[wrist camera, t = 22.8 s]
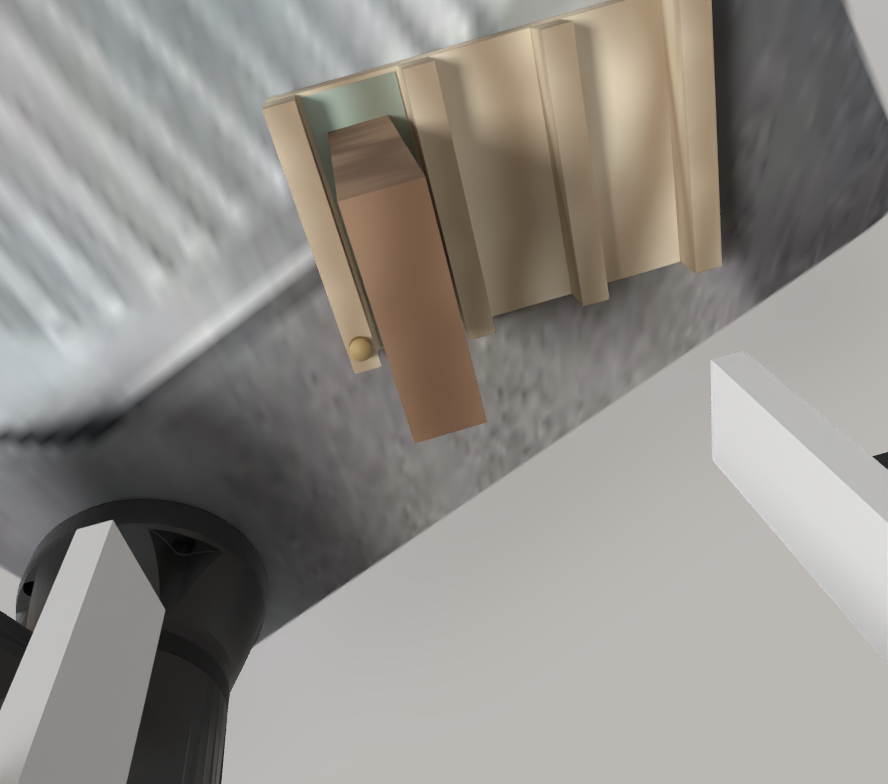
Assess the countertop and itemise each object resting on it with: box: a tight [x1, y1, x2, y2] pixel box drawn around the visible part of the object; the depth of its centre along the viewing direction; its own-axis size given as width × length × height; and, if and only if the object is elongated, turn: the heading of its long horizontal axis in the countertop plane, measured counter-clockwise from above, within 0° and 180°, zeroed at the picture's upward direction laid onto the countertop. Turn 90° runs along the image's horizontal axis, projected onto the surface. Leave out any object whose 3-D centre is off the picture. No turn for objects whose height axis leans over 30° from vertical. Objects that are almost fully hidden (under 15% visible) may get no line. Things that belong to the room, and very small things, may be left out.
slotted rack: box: [262, 0, 722, 374], centre depth 37 cm, size 21×14×4 cm, turn 104°
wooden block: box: [328, 115, 487, 443], centre depth 32 cm, size 3×10×13 cm, turn 14°
